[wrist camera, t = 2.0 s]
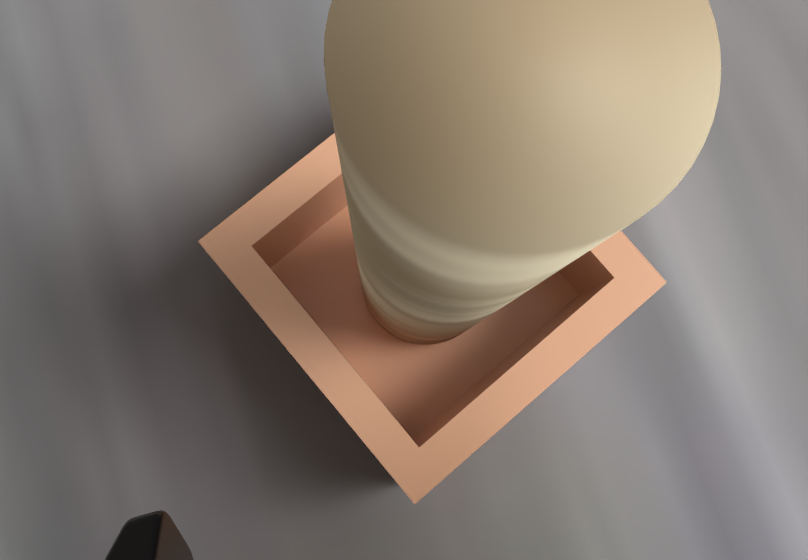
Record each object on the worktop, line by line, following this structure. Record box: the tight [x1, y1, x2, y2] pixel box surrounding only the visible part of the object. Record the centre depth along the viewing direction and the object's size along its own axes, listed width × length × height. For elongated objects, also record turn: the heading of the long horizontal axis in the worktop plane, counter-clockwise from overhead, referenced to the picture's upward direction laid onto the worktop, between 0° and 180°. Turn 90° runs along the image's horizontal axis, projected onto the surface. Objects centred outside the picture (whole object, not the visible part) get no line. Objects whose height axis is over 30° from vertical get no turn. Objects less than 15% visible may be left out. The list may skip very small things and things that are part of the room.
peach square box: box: [198, 133, 667, 504], centre depth 18 cm, size 7×7×4 cm
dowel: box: [324, 0, 721, 345], centre depth 12 cm, size 3×3×13 cm
